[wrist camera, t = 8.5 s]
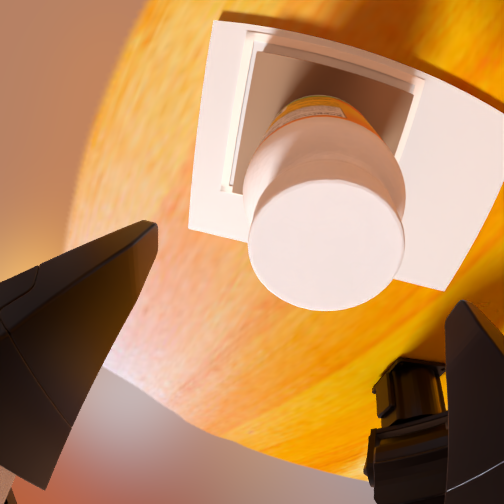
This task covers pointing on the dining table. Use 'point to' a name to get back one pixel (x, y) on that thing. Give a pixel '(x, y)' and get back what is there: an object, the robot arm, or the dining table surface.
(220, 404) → the dining table surface
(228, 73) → the white flat board
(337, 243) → the supplement bottle
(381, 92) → the grey plinth
